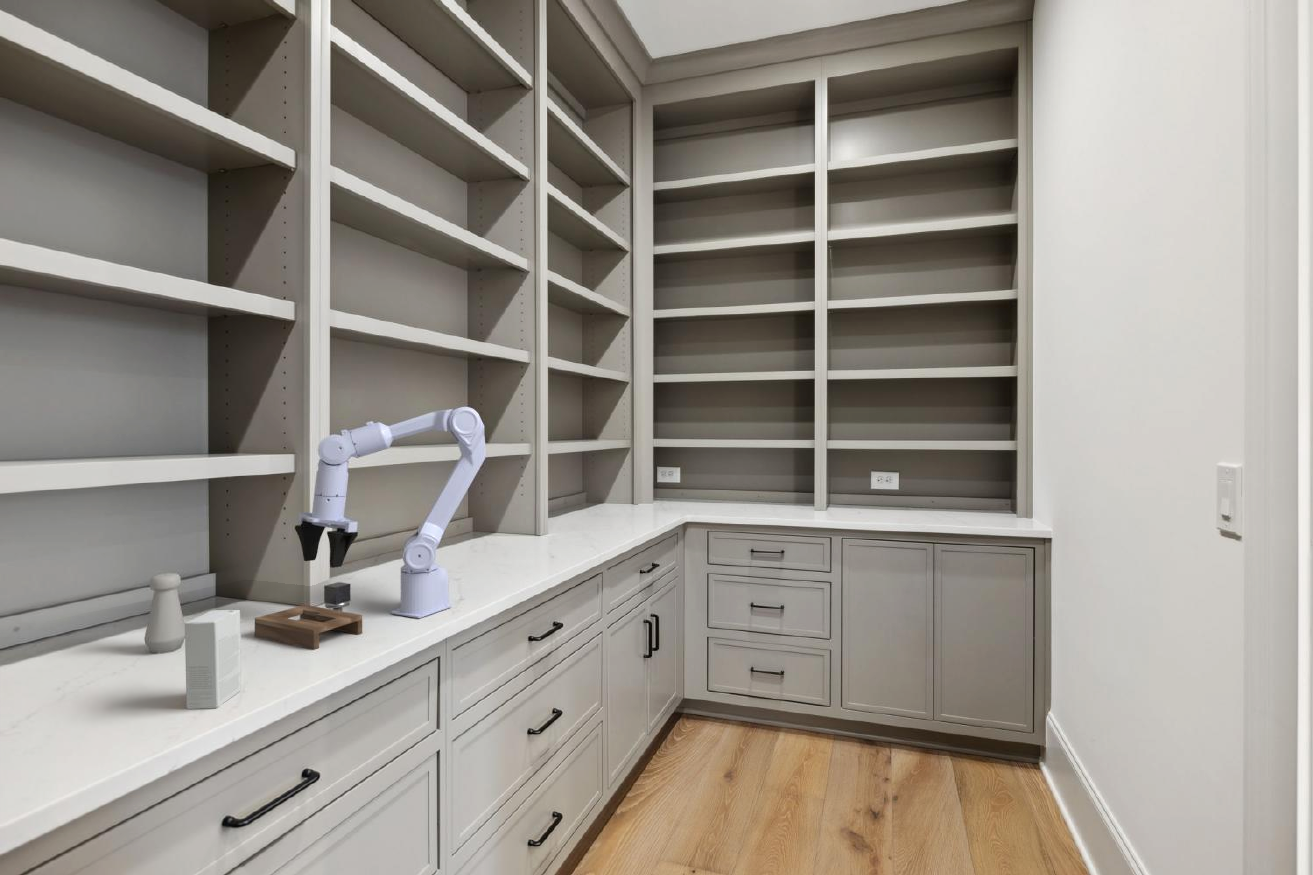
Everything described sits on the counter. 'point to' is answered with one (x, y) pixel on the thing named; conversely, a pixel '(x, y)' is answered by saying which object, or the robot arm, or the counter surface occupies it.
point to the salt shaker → (165, 615)
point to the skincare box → (212, 658)
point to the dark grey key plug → (337, 595)
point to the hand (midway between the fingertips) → (322, 563)
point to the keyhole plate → (305, 625)
